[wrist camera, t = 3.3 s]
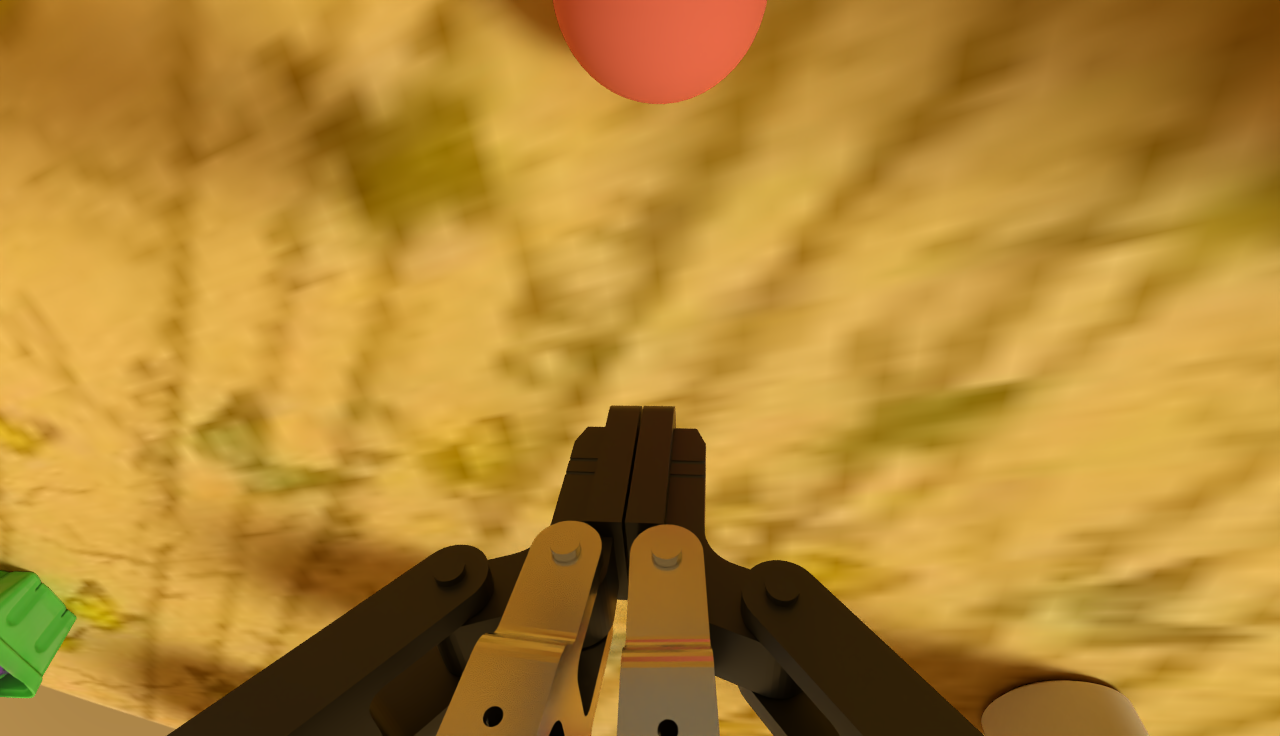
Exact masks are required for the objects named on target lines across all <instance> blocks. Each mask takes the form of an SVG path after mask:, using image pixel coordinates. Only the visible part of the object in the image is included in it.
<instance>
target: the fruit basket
mask: <svg viewBox="0 0 1280 736" xmlns="http://www.w3.org/2000/svg"><path fill="white" fill-rule="evenodd" d="M75 620H76V616H75V615H74V614H73V613H72V612H70V611H69V610H67V609H66V607H65V605H64V603H63V602H62V601H61V600H60V599H59V598H58V597H57V596H56V595H55V594H54V593H53V592H52V591H51V590H50V588H48V587H47V586H46V585H45V584H43V583H41V580H40V579H39V577H38V576H37V575H36V574H35V573H33V572H21V571H15V572H6V571H1V570H0V697H12V698H32V697H34V696H35V694H36V692H37V689H38V688H39V686H40V684H41V682H42V676H43V675H44V673H45V671H46V670H47V668H48V666H49V664H50V663H51V661H52V659H53V658H54V656H55V654H56V653H57V651H58V649H59V648H60V646H61V644H62V642H63V641H64V639H65V637H66V636H67V634H68V632H69V631H70V629H71V627H72V625H73V624H74V622H75Z"/></svg>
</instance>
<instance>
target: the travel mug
mask: <svg viewBox="0 0 1280 736" xmlns="http://www.w3.org/2000/svg"><path fill="white" fill-rule="evenodd" d="M981 723H982V728H983V730H984V733H985V736H1149V734H1148V732H1147V730H1146V729H1145V727H1144V725H1143V723H1142V721H1141V720H1140V718H1139V716H1138V714H1137V712H1136V711H1135V709H1134V707H1133V705H1132V703H1131V702H1130V701H1129V699H1128V698H1127V697H1125V696H1124V695H1123V694H1121V693H1120V692H1118V691H1116V690H1114V689H1112V688H1109V687H1106V686H1103V685H1099V684H1094V683H1089V682H1082V681H1071V680H1054V681H1041V682H1036V683H1032V684H1029V685H1025V686H1021V687H1018V688H1016V689H1013V690H1011V691H1009V692H1007V693H1006V694H1004V695H1002V696H1001V697H999V698H997V699H996V700H994V701H993V702H992V703H991V704H990V705H989V706H988V707H987V708H986V709H985V711H984V713H983V715H982V719H981Z"/></svg>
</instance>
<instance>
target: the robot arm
mask: <svg viewBox="0 0 1280 736" xmlns="http://www.w3.org/2000/svg"><path fill="white" fill-rule="evenodd" d="M705 481H706V444H705V442H704V440H703V439H702V437H701V435H700V434H699V432H698V430H697V429H680V428H676V415H675V407H673V406H644V407H643V408H642V406H611V407H610V409H609V413H608V418H607V422H606V426H605V427H587V428H586V430H585V431H584V432H583V433H582V434H581V435H580V436H579V437H578V438H577V440H576V441H575V443H574V446H573V450H572V453H571V457H570V461H569V464H568V467H567V471H566V475H565V477H564V481H563V484H562V488H561V491H560V495H559V498H558V502H557V505H556V509H555V512H554V515H553V519H552V522H551V525H550V526H549V527H547V528H545V529H544V530H543V531H541V532H540V533H539V534H538V535H537V537H536V538H535V539H534V541H533V543H532V545H531V547H530V548H528V549H526V550H524V551H521V552H519V553H515V554H512V555H508V556H503V557H499V558H495V559H490V560H487V558H486V556H485V555H484V553H483V552H482V551H480V550H479V549H477V548H475V547H473V546H469V545H454V546H449V547H446V548H443V549H441V550H439V551H437V552H435V553H433V554H432V555H430V556H429V557H427V558H426V559H425V560H423V561H422V562H420V563H419V564H417V565H416V566H414V567H413V568H411V569H410V570H408V571H407V572H405V573H404V574H403V575H401V576H400V577H398V578H397V579H395V580H394V581H392V582H391V583H389V584H388V585H386V586H385V587H384V588H382V589H381V590H379V591H378V592H376V593H375V594H373V595H372V596H370V597H369V598H367V599H366V600H365V601H363V602H362V603H360V604H359V605H357V606H356V607H354V608H353V609H351V610H350V611H348V612H347V613H346V614H344V615H343V616H341V617H340V618H338V619H337V620H335V621H334V622H332V623H331V624H329V625H328V626H327V627H325V628H324V629H322V630H321V631H319V632H318V633H316V634H315V635H313V636H312V637H310V638H309V639H308V640H306V641H305V642H303V643H302V644H300V645H299V646H297V647H296V648H294V649H293V650H291V651H290V652H289V653H287V654H286V655H284V656H283V657H281V658H280V659H278V660H277V661H275V662H274V663H272V664H271V665H269V666H268V667H267V668H265V669H264V670H262V671H261V672H259V673H258V674H256V675H255V676H253V677H252V678H250V679H249V680H248V681H246V682H245V683H243V684H242V685H240V686H239V687H237V688H236V689H234V690H233V691H231V692H230V693H229V694H227V695H226V696H224V697H223V698H221V699H220V700H218V701H217V702H215V703H214V704H212V705H211V706H210V707H208V708H207V709H205V710H204V711H202V712H201V713H199V714H198V715H196V716H195V717H193V718H192V719H191V720H189V721H188V722H186V723H185V724H183V725H182V726H180V727H179V728H177V729H176V730H174V731H173V732H172V733H170V734H169V735H167V736H591V732H592V725H593V720H594V715H595V711H596V707H597V702H598V698H599V694H600V689H601V685H602V681H603V677H604V672H605V668H606V664H607V659H608V655H609V651H610V646H611V642H612V638H613V621H614V616H615V610H616V603H617V599H618V600H628V605H627V625H626V643H625V647H623V650H622V656H621V670H620V688H619V706H618V725H617V736H720V735H719V722H718V709H717V697H716V684H715V676H717V677H720V678H722V679H724V680H727V681H729V682H731V683H734V684H736V685H738V687H739V689H740V692H741V694H742V695H743V697H744V698H745V700H746V701H747V702H748V703H749V705H750V706H751V707H752V709H753V710H754V711H755V712H756V714H757V715H758V716H759V717H760V719H761V720H762V721H763V723H764V724H765V725H766V726H767V728H768V729H769V730H770V731H771V733H772V734H773V735H774V736H984V735H983V734H982V733H981V732H980V731H979V730H978V729H976V728H975V727H974V726H973V725H972V724H971V723H970V722H969V721H968V720H967V719H966V718H965V717H964V716H963V715H961V714H960V713H959V712H958V711H957V710H956V709H955V708H954V707H953V706H952V705H951V704H950V703H949V702H948V701H946V700H945V699H944V698H943V697H942V696H941V695H940V694H939V693H938V692H937V691H936V690H935V689H934V688H933V687H931V686H930V685H929V684H928V683H927V682H926V681H925V680H924V679H923V678H922V677H921V676H920V675H919V674H918V673H917V672H915V671H914V670H913V669H912V668H911V667H910V666H909V665H908V664H907V663H906V662H905V661H904V660H903V659H902V658H900V657H899V656H898V655H897V654H896V653H895V652H894V651H893V650H892V649H891V648H890V647H889V646H888V645H887V644H885V643H884V642H883V641H882V640H881V639H880V638H879V637H878V636H877V635H876V634H875V633H874V632H873V631H872V630H870V629H869V628H868V627H867V626H866V625H865V624H864V623H863V622H862V621H861V620H860V619H859V618H858V617H857V616H855V615H854V614H853V613H852V612H851V611H850V610H849V609H848V608H847V607H846V606H845V605H844V604H843V603H842V602H840V601H839V600H838V599H837V598H836V597H835V596H834V595H833V594H832V593H831V592H830V591H829V590H828V589H827V588H825V587H824V586H823V585H822V584H821V583H820V582H819V581H818V580H817V579H816V578H815V577H814V576H813V575H812V574H810V573H809V572H808V571H807V570H806V569H804V568H802V567H801V566H799V565H796V564H794V563H791V562H787V561H781V560H772V561H766V562H763V563H760V564H758V565H756V566H754V567H753V568H752V569H751V570H750V569H747V568H744V567H741V566H738V565H735V564H733V563H730V562H728V561H726V560H725V559H723V558H721V557H720V556H719V555H717V554H716V553H715V552H714V551H713V550H712V548H711V547H710V546H709V544H708V542H707V540H706V537H705Z"/></svg>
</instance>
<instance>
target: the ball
mask: <svg viewBox="0 0 1280 736" xmlns="http://www.w3.org/2000/svg"><path fill="white" fill-rule="evenodd" d="M766 3H767V0H553V4H554V9H555V14H556V17H557V20H558V24H559V27H560V29H561V32H562V34H563V36H564V39H565V41H566V43H567V45H568V46H569V48H570V50H571V52H572V53H573V55H574V56H575V58H576V59H577V60H578V62H579V63H580V65H581V66H582V67H583V68H584V69H585V70H586V71H587V72H588V73H589V74H590V76H591V77H593V78H594V79H595V80H596V81H597V82H599V83H600V84H601V85H603V86H604V87H606V88H607V89H609V90H610V91H612V92H614V93H616V94H618V95H620V96H623V97H625V98H628V99H631V100H634V101H638V102H643V103H650V104H667V103H675V102H680V101H683V100H687V99H690V98H693V97H695V96H697V95H700V94H702V93H704V92H705V91H707V90H709V89H710V88H712V87H714V86H715V85H716V84H718V83H719V82H720V81H721V80H723V79H724V78H725V77H726V76H727V75H728V74H729V73H730V72H731V71H732V70H733V69H734V68H735V67H736V66H737V65H738V63H739V62H740V61H741V59H742V58H743V57H744V56H745V54H746V52H747V51H748V49H749V47H750V46H751V44H752V42H753V40H754V38H755V36H756V34H757V32H758V29H759V27H760V24H761V21H762V18H763V15H764V12H765V8H766Z"/></svg>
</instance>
